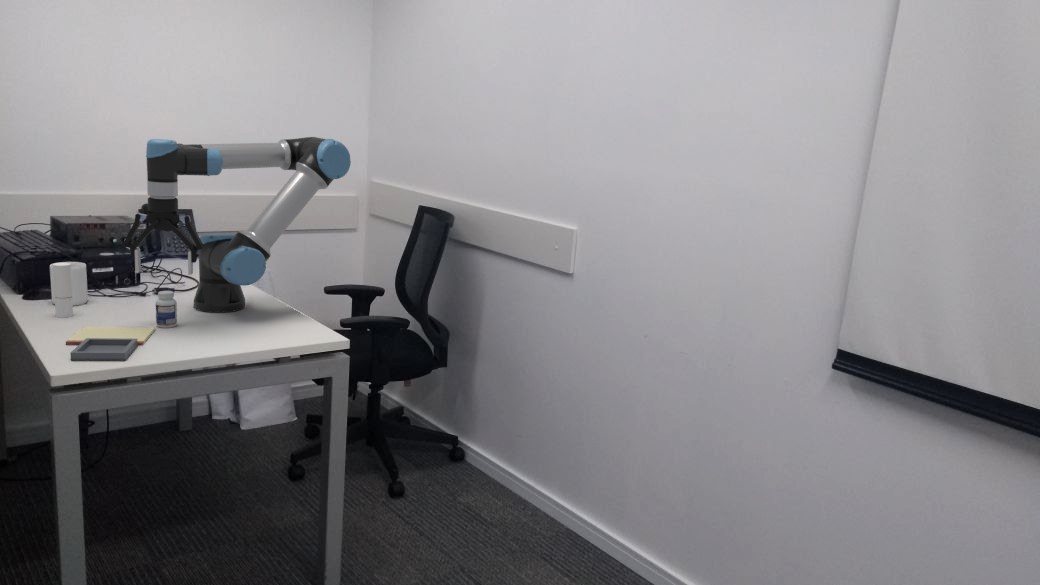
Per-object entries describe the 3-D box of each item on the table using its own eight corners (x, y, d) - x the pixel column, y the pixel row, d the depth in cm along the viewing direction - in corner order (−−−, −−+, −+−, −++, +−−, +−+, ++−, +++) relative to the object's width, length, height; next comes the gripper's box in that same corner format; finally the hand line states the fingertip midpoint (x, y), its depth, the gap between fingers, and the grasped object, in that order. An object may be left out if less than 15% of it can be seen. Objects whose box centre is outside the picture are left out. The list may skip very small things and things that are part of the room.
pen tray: (137, 346, 200) (137, 338, 200) (125, 360, 189) (124, 353, 188) (86, 345, 198) (86, 338, 197) (70, 360, 186) (70, 352, 186)
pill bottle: (160, 322, 222) (159, 289, 220) (179, 323, 222) (179, 290, 220) (153, 327, 217) (152, 293, 214) (173, 328, 217) (172, 295, 215)
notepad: (155, 330, 214) (154, 327, 214) (142, 345, 201) (142, 342, 201) (83, 329, 210) (83, 326, 210) (65, 344, 197) (65, 341, 197)
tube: (65, 318, 219) (62, 266, 216) (52, 316, 220) (48, 264, 216) (76, 314, 223) (73, 263, 220) (63, 312, 224) (60, 262, 221)
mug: (46, 306, 229) (44, 267, 227) (62, 296, 241) (60, 259, 238) (81, 307, 231) (79, 268, 229) (95, 297, 243) (93, 260, 240)
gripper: (213, 197, 218) (214, 271, 222) (116, 192, 212) (119, 268, 217) (209, 201, 211) (209, 277, 215) (108, 195, 205) (111, 274, 210)
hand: (164, 273), depth 216 cm, fingers open, 13 cm apart
